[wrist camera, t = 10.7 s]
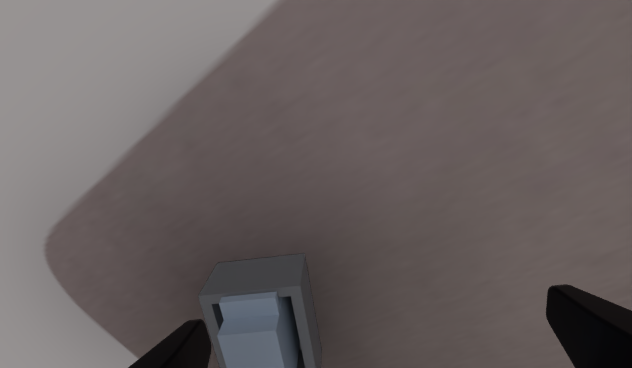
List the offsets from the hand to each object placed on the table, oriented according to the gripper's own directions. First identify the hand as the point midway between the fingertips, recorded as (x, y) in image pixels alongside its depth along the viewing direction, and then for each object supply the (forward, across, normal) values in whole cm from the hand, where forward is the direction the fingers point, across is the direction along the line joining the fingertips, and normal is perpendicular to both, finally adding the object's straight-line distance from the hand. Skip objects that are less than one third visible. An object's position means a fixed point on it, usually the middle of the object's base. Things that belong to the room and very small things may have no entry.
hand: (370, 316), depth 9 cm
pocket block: (+11, +6, +8) cm, 15 cm away
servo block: (+10, +6, +8) cm, 14 cm away
